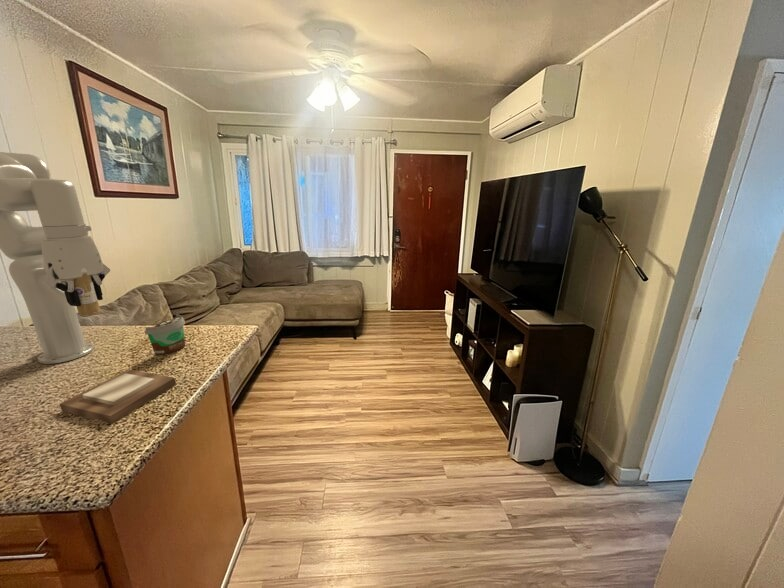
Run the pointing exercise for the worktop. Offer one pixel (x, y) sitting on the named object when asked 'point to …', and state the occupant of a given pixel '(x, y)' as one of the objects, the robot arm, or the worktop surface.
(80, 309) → the sprinkles bottle
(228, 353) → the worktop surface
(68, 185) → the robot arm
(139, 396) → the stacking base
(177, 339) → the food container
